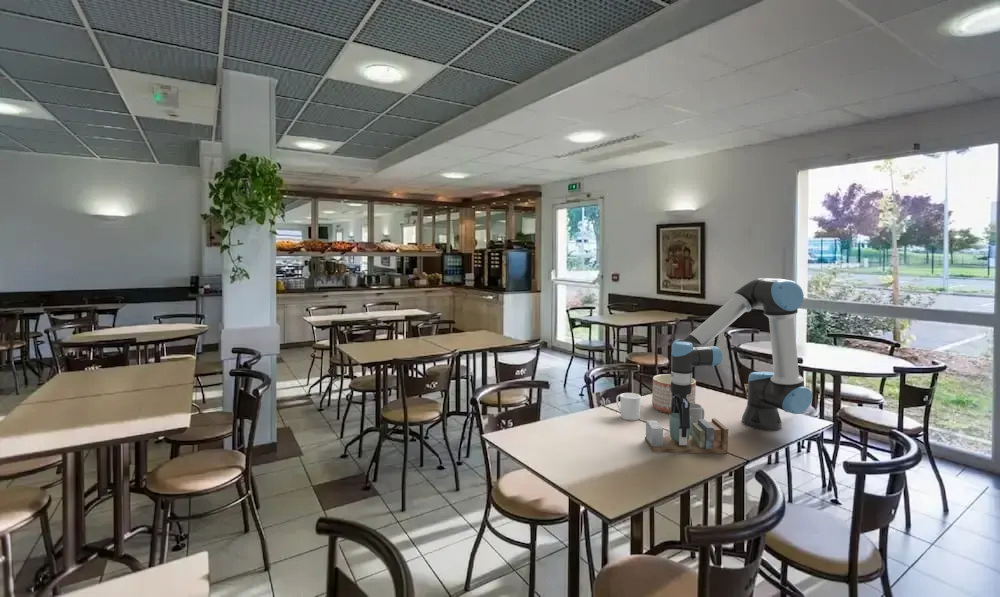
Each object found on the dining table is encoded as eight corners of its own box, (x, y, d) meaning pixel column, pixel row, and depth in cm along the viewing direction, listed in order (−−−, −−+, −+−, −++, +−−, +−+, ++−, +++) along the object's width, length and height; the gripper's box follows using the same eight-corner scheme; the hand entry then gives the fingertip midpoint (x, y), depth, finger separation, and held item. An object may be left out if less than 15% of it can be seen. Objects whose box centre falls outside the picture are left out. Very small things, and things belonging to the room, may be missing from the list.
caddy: (714, 440, 194) (715, 418, 194) (727, 453, 182) (728, 429, 182) (644, 439, 196) (645, 417, 195) (652, 452, 184) (653, 428, 183)
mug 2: (691, 436, 199) (692, 409, 198) (674, 429, 207) (675, 404, 206) (711, 431, 205) (712, 405, 204) (694, 424, 213) (695, 400, 212)
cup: (688, 446, 184) (688, 420, 183) (666, 442, 188) (667, 416, 187) (692, 439, 190) (693, 414, 189) (671, 435, 194) (672, 411, 193)
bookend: (655, 437, 194) (656, 420, 193) (662, 446, 185) (663, 428, 184) (645, 437, 194) (646, 420, 193) (651, 446, 185) (652, 428, 184)
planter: (691, 405, 240) (692, 375, 239) (697, 417, 221) (699, 385, 220) (650, 402, 244) (651, 373, 243) (653, 414, 226) (654, 383, 224)
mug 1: (642, 416, 223) (643, 394, 222) (636, 422, 215) (637, 399, 214) (619, 412, 229) (619, 391, 228) (612, 418, 221) (613, 395, 220)
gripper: (663, 375, 197) (661, 430, 199) (679, 390, 177) (677, 451, 179) (682, 375, 197) (680, 430, 199) (701, 390, 176) (698, 451, 178)
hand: (679, 440), depth 189 cm, fingers closed on cup, 8 cm apart
